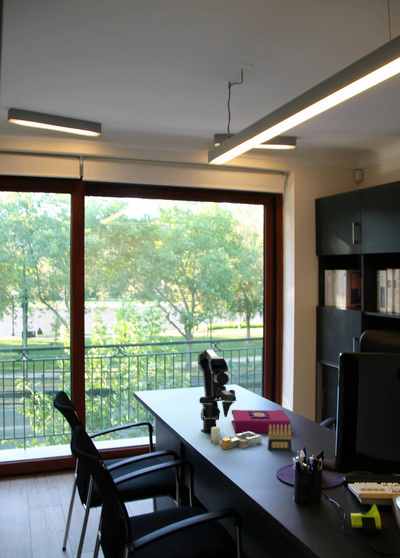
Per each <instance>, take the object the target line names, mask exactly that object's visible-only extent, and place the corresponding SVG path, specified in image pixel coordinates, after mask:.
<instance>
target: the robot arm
mask: <svg viewBox="0 0 400 558" xmlns="http://www.w3.org/2000/svg"><path fill="white" fill-rule="evenodd" d="M197 365H198V367H199V370H200V371H201V373H202V376H203V379H202V380H203V389H204V396H200V398H199V401H198V402H199V404H201V405H202V409H201V411H200V419H201V421H202V422H203V425H202V429H200V431H201V432H203V433H205V434H208V435H211V428H212V427H217V421H219V420H220V414H221V410H220V408H219V403H218V402H221V403H222V410H223V411H222V412H223V416H224V418H227V417H228V414H229V410H230V408H231V406H232V405H233V404H234V403H235V402H237V397H236V391H235V389H230V390H227V387H226V386H225V385H227V384H228V383H229V381H230V377H229V375H228V374H227V373H226V372H228V371H229V367H228V364H227V361H226V359H225V357H223V356H218V354H217V353H216V352H215V349H213V348H208V349H207V348H205V349H204V350H203V352H201V353H200V354H199V355H198V357H197Z"/></svg>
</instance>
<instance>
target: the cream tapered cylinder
mask: <svg viewBox="0 0 400 558" xmlns="http://www.w3.org/2000/svg"><path fill="white" fill-rule="evenodd" d="M210 435H211V437H210V438H211V439H210V441H211V442H210V443H211V444H212V445H218V444H221V440H220V439H221V436H220V435H221V428H220V427H219V426H216V427H212V428H211V433H210Z"/></svg>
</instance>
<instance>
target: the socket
mask: <svg viewBox="0 0 400 558" xmlns="http://www.w3.org/2000/svg"><path fill="white" fill-rule="evenodd" d="M235 436H236V437H238V438H239V439H241V440H242V439H244V440H247V447H248V446H249V447H252V446H255V445H254V444H256V445H259V444H258V443H260V444H262V434H255V433H253V432H250V431H248V432H244V433H235ZM251 445H252V446H251Z"/></svg>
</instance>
